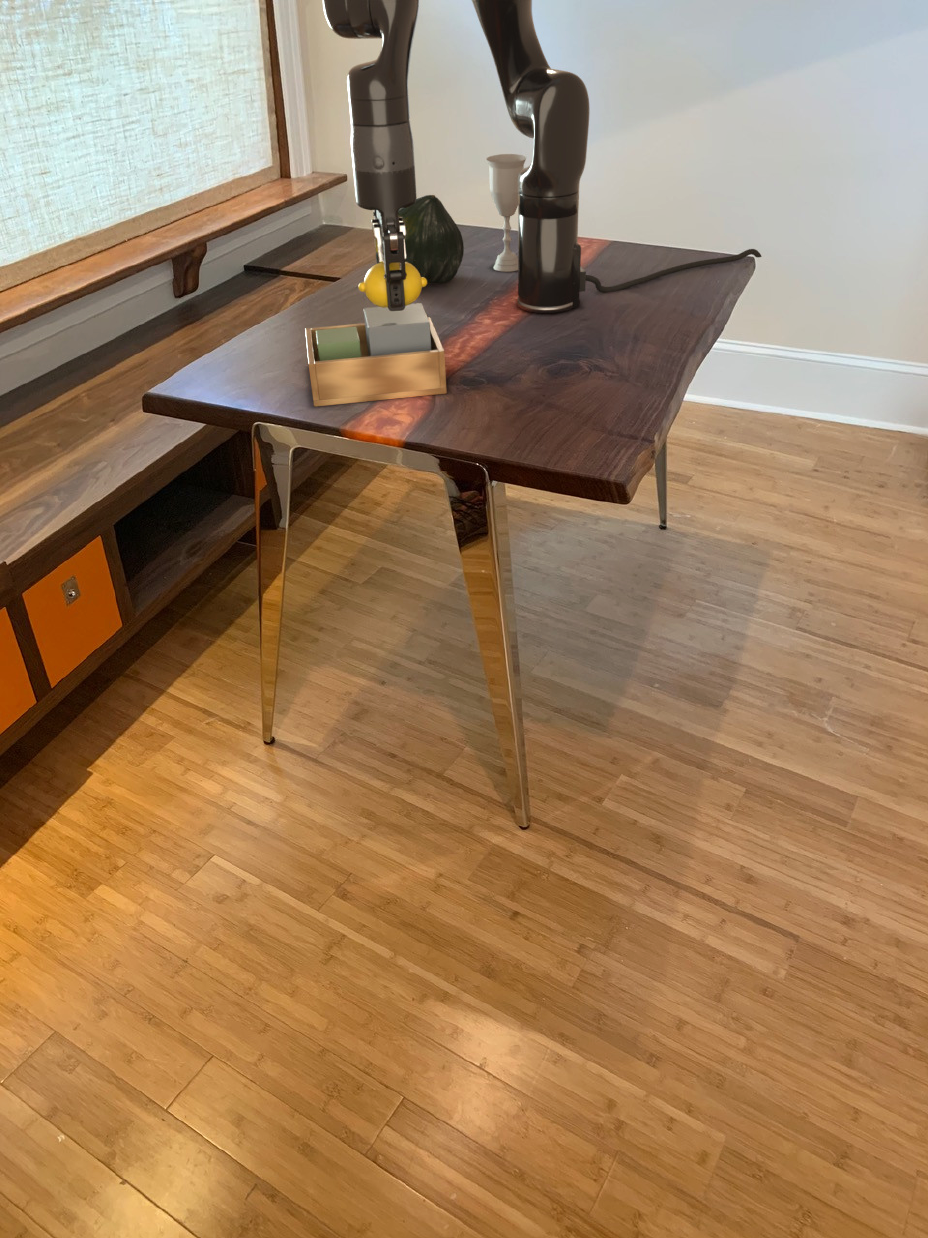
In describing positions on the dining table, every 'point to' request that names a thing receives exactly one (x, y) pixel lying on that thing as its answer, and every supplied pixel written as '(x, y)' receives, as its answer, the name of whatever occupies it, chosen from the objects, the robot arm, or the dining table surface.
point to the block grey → (397, 330)
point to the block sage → (338, 343)
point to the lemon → (377, 285)
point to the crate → (375, 372)
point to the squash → (432, 240)
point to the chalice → (505, 200)
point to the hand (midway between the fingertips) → (394, 301)
